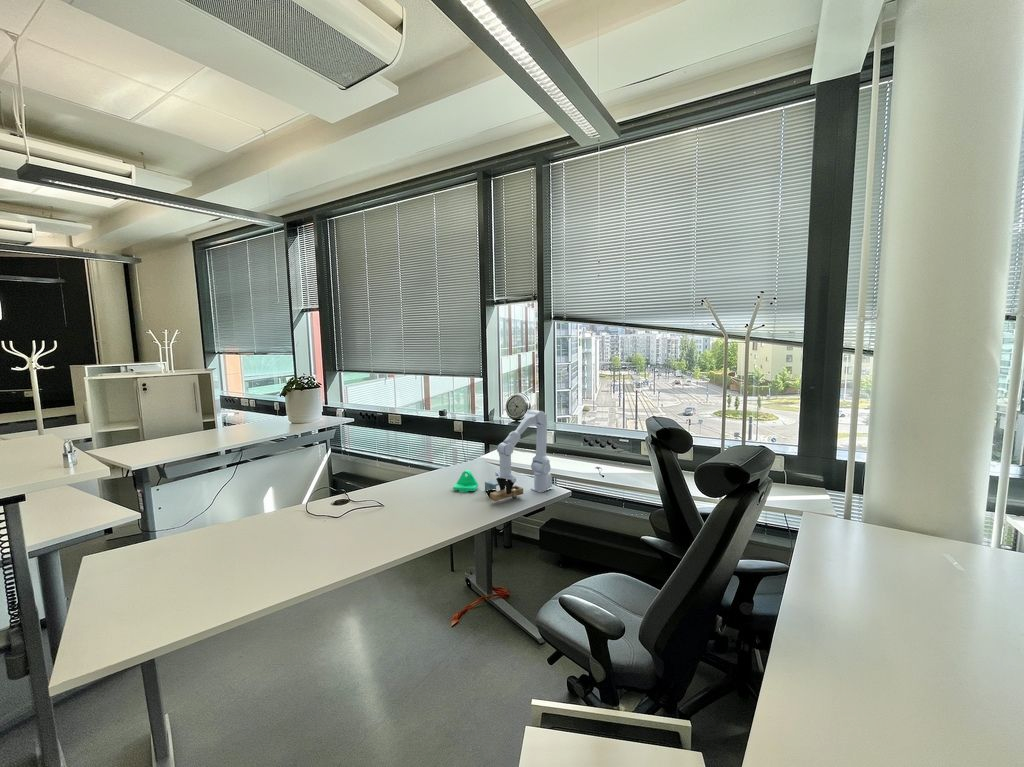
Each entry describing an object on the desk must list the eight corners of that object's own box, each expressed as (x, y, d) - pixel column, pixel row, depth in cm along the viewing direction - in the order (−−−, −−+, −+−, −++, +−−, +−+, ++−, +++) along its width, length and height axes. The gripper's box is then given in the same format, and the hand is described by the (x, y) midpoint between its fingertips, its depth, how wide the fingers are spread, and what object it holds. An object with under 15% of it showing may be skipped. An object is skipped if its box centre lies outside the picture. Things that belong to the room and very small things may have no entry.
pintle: (514, 496, 231) (514, 488, 231) (517, 498, 230) (517, 489, 229) (511, 497, 230) (510, 489, 229) (513, 499, 228) (513, 490, 228)
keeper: (484, 491, 240) (484, 481, 240) (491, 488, 244) (491, 479, 243) (494, 494, 235) (494, 484, 235) (501, 491, 239) (501, 482, 239)
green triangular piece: (452, 491, 241) (452, 473, 240) (457, 487, 248) (456, 469, 247) (474, 493, 238) (473, 474, 237) (478, 488, 246) (477, 470, 245)
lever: (515, 490, 234) (515, 485, 234) (523, 493, 229) (523, 488, 229) (488, 498, 223) (488, 492, 223) (496, 501, 218) (496, 496, 218)
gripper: (490, 464, 228) (490, 490, 229) (508, 471, 216) (508, 498, 218) (501, 462, 232) (501, 487, 233) (519, 468, 221) (519, 495, 222)
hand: (505, 492), depth 226 cm, fingers closed on lever, 4 cm apart
